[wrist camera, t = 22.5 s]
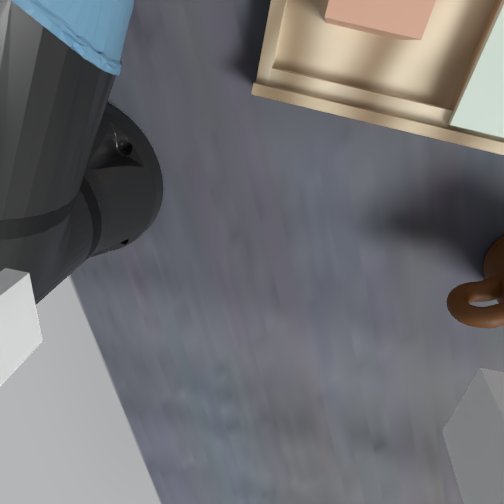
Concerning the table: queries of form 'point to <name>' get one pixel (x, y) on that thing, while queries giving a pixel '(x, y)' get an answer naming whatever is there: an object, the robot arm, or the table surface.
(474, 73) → the lid
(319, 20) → the beige flat rectangular tray
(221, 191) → the table surface
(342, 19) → the block
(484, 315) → the mug
